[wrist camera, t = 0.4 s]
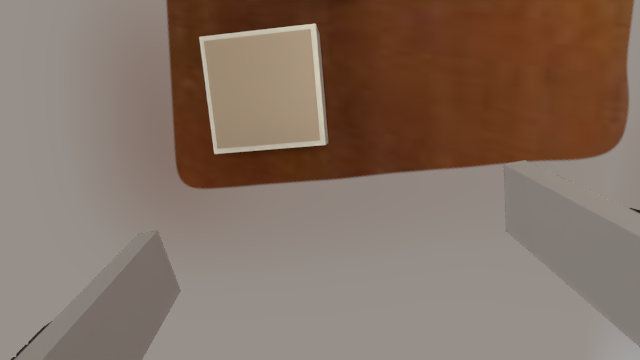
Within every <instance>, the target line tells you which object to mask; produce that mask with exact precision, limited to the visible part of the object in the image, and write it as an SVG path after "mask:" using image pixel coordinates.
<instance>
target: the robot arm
mask: <svg viewBox="0 0 640 360" xmlns="http://www.w3.org/2000/svg"><path fill="white" fill-rule="evenodd" d="M504 182H505V185H504V186H505V219H506V231H507V232H508V233H509V234H510V235H511V236H513V237H514V238H515V239H516V240H517V241H518V242H519V243H520V244H522V245H523V246H524V247H525V248H526V249H527V250H528V251H530V252H531V253H532V254H533V255H534V256H536V257H537V258H538V259H539V260H540V261H541V262H542V263H544V264H545V265H546V266H547V267H548V268H549V269H551V270H552V271H553V272H554V273H555V274H556V275H557V276H559V277H560V278H561V279H562V280H563V281H564V282H565V283H566V284H568V285H569V286H570V287H571V288H572V289H573V290H575V291H576V292H577V293H578V294H579V295H580V296H581V297H583V298H584V299H585V300H586V301H587V302H588V303H590V304H591V305H592V306H593V307H594V308H595V309H596V310H598V311H599V312H600V313H601V314H603V316H605V317H606V318H607V319H608V320H609V321H610V322H612V323H613V324H614V325H615V326H616V327H617V328H618V329H619V330H621V331H622V332H623V333H624V334H625V335H626V336H628V337H629V338H630V339H631V340H632V341H633V342H634V343H636V344H637V345H638V346H639V347H640V210H636V209H632V208H627V207H625V206H622V205H620V204H618V203H616V202H614V201H612V200H609V199H607V198H605V197H603V196H601V195H599V194H596V193H594V192H592V191H590V190H588V189H586V188H584V187H581V186H579V185H577V184H575V183H573V182H571V181H569V180H566V179H564V178H562V177H560V176H558V175H555V174H553V173H551V172H549V171H547V170H545V169H543V168H540V167H538V166H536V165H534V164H532V163H530V162H527V161H525V160H524V161H518V162H513V163H508V164H504ZM179 293H180V288H179V286H178V283H177V280H176V278H175V275H174V272H173V269H172V267H171V264H170V261H169V259H168V256H167V253H166V251H165V248H164V246H163V243H162V241H161V238H160V235H159V232H158V231H152V232H147V233H141V234H138V235H137V236H136V237H135V238H134V239H133V240H132V241H131V242H130V243H129V244H128V245H127V246H126V247H125V248H124V249H123V250H122V251H121V252H120V253H119V254H118V255H117V256H116V257H115V258H114V259H113V260H112V261H111V262H110V263H109V264H108V265H107V266H106V267H105V268H104V269H103V270H102V271H101V272H100V274H98V275H97V277H95V278H94V279H93V280H92V282H91V283H90V284H89V285H88V286H87V287H86V288H85V289H84V290H83V291H82V292H81V293H80V294H79V295H78V296H77V297H76V298H75V299H74V300H73V301H72V302H71V303H70V304H69V305H68V306H67V307H66V308H65V309H64V310H63V311H62V312H61V313H60V314H59V315H58V316H57V317H56V318H55V319H54V320H53V321H51V322H50V323H49V324H47V325H46V326H44V327H43V328H42V329H41V330H40V331H39V332H38V333H37V334H36V335H35V336H34V337H33V338H32V339H31V340H30V341H29V343H28V345H25V346H24V347H23V348H22V349H21V350H20V351H19V352H18V353H17V355H16V357H13V358H12V359H11V360H142V359H143V357H144V355H145V353H146V352H147V350H148V348H149V346H150V344H151V343H152V341H153V339H154V337H155V335H156V334H157V332H158V330H159V328H160V327H161V325H162V323H163V321H164V320H165V318H166V316H167V314H168V312H169V311H170V309H171V307H172V305H173V304H174V302H175V300H176V298H177V296H178V295H179Z"/></svg>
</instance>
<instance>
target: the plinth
mask: <svg viewBox="0 0 640 360" xmlns="http://www.w3.org/2000/svg"><path fill="white" fill-rule="evenodd" d="M199 40H200V48H201V56H202V63H203V71H204V79H205V86H206V94H207V102H208V109H209V117H210V125H211V133H212V140H213V148H214V154H221V153H233V152H245V151H258V150H270V149H282V148H295V147H307V146H319V145H326V144H327V143H328V132H327V119H326V107H325V95H324V83H323V71H322V58H321V46H320V34H319V31H318V29H317V26H316V23H315V24H307V25H298V26H289V27H281V28H272V29H263V30H255V31H246V32H237V33H228V34H220V35H211V36H202V37H199Z"/></svg>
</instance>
